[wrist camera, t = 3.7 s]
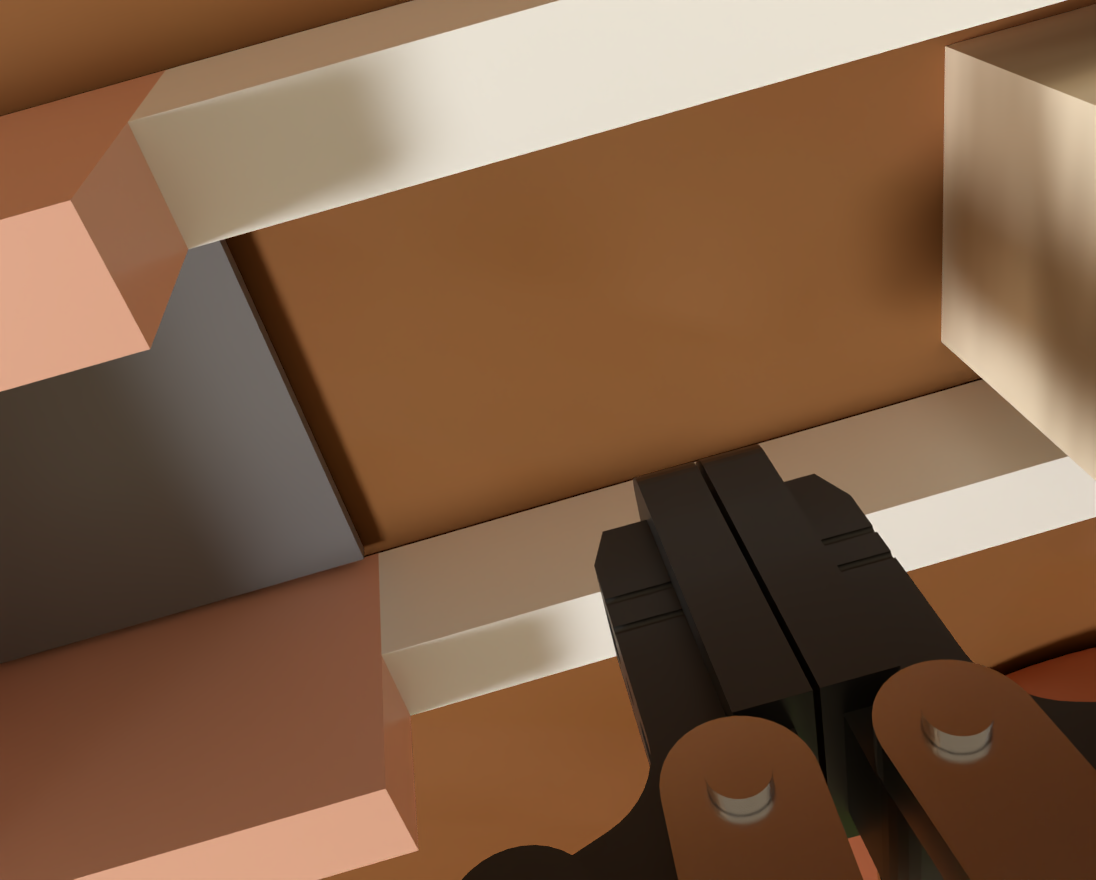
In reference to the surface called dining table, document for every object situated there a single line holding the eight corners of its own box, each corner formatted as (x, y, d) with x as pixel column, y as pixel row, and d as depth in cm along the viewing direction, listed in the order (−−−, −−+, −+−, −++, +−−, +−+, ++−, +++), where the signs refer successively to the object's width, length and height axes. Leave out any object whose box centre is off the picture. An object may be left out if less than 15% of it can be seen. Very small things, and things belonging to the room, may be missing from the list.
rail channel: (-442, 241, 12) (-845, 458, 8) (1861, -408, 13) (2593, -512, 8) (-11, 731, 18) (-120, 1007, 14) (1573, 274, 18) (1928, 409, 14)
